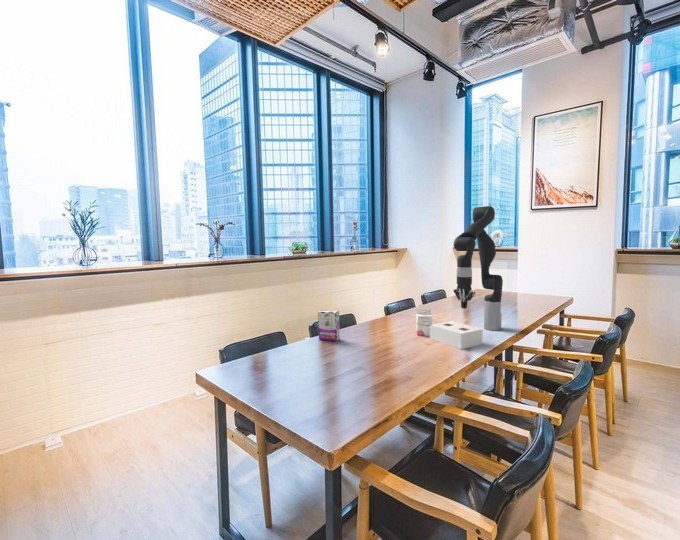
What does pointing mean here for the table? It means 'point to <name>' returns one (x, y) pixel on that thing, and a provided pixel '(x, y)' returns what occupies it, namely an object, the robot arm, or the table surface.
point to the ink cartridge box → (423, 322)
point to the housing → (456, 334)
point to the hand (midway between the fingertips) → (464, 308)
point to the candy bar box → (329, 325)
